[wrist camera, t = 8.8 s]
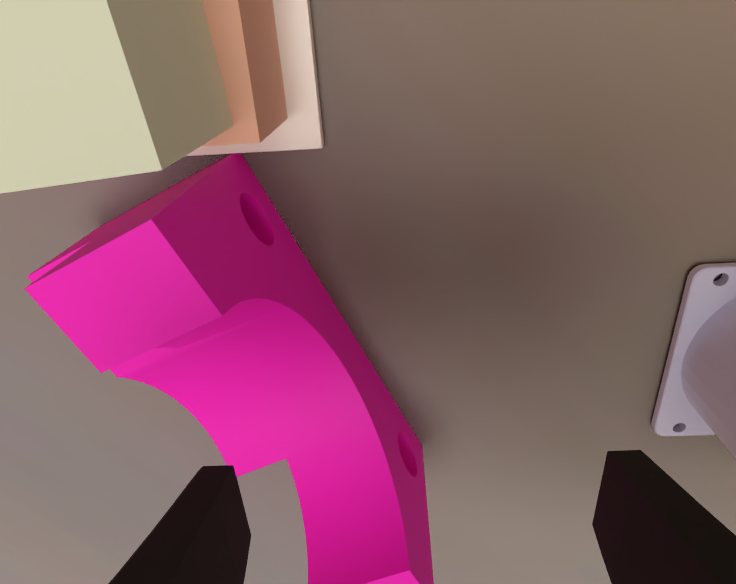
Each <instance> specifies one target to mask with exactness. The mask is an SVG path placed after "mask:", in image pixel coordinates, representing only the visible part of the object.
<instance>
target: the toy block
mask: <svg viewBox="0 0 736 584" xmlns="http://www.w3.org/2000/svg"><path fill="white" fill-rule="evenodd" d="M27 277H28V278H29V279H30V280H31V281H32V282H33V283H31V284H30V285H29V286H27V287H26V288H24V289H25V290H26V291H27V292H28V293H29V294H30V295H31V296H32V297H33V299H34V300H35V301H36V302H37V303H38V304H39V305H40V306H41V307H42V308H43V310H44V311H45V312H46V313H47V314H48V315H49V316H50V317H51V318H52V320H53V321H54V322H55V323H56V324H57V325H58V326H59V327H60V328H61V329H62V331H63V332H64V333H65V334H66V335H67V336H68V337H69V338H70V339H71V340H72V342H73V343H74V344H75V345H76V346H77V347H78V348H79V349H80V350H81V352H82V353H83V354H84V355H85V356H86V357H87V358H88V359H89V360H90V361H91V363H92V364H93V365H94V366H95V367H96V368H97V369H98V370H99V371H100V372H101V373H102V372H104V371H106V370H108V369H110V370H111V371H112V372H113V373H114V374H115V375H116V376H117V377H122V378H129V379H133V380H137V381H140V382H144V383H146V384H148V385H151V386H153V387H156V388H157V389H159V390H161V391H163V392H165V393H167V394H168V395H170V396H171V397H173V398H174V399H175V400H177V401H178V402H179V403H181V404H182V405H183V406H184V407H185V408H187V409H188V410H189V411H190V412H191V413H192V414H193V415H194V416H195V417H196V418H197V420H198V421H199V422H200V423H201V424H202V426H203V427H204V428H205V429H206V431H207V432H208V433H209V435H210V436H211V438H212V439H213V441H214V442H215V444H216V446H217V447H218V449H219V451H220V452H221V454H222V456H223V458H224V460H225V462H226V464H227V465H233V466H234V470H235V474H236V477H238V476H240V475H243V474H246V473H248V472H251V471H254V470H256V469H259V468H262V467H264V466H267V465H270V464H272V463H275V462H278V461H280V460H283V459H286V458H287V461H288V463H289V466H290V469H291V472H292V475H293V478H294V481H295V485H296V488H297V492H298V496H299V500H300V505H301V509H302V514H303V520H304V526H305V533H306V543H307V556H308V584H434V582H433V570H432V558H431V546H430V534H429V522H428V510H427V498H426V487H425V475H424V463H423V451H422V445H421V444H420V442H419V440H418V439H417V437H416V435H415V434H414V432H413V431H412V429H411V427H410V426H409V424H408V422H407V421H406V419H405V418H404V416H403V414H402V413H401V411H400V410H399V408H398V406H397V405H396V403H395V401H394V400H393V398H392V397H391V395H390V393H389V392H388V390H387V388H386V387H385V385H384V384H383V382H382V380H381V379H380V377H379V376H378V374H377V372H376V371H375V369H374V367H373V366H372V364H371V363H370V361H369V359H368V358H367V356H366V354H365V353H364V351H363V350H362V348H361V346H360V345H359V343H358V342H357V340H356V338H355V337H354V335H353V333H352V332H351V330H350V329H349V327H348V325H347V324H346V322H345V320H344V319H343V317H342V316H341V314H340V312H339V311H338V309H337V308H336V306H335V304H334V303H333V301H332V299H331V298H330V296H329V295H328V293H327V291H326V290H325V288H324V287H323V285H322V283H321V282H320V280H319V278H318V277H317V275H316V274H315V272H314V270H313V269H312V267H311V265H310V264H309V262H308V261H307V259H306V257H305V256H304V254H303V253H302V251H301V249H300V248H299V246H298V244H297V243H296V241H295V240H294V238H293V236H292V235H291V233H290V231H289V230H288V228H287V227H286V225H285V223H284V222H283V220H282V219H281V217H280V215H279V214H278V212H277V210H276V209H275V207H274V206H273V204H272V202H271V201H270V199H269V197H268V196H267V194H266V193H265V191H264V189H263V188H262V186H261V185H260V183H259V181H258V180H257V178H256V176H255V175H254V173H253V172H252V170H251V168H250V167H249V165H248V163H247V162H246V160H245V159H244V157H243V155H242V154H241V153H232V154H229V155H227V156H226V157H224V158H222V159H220V160H218V161H217V162H215V163H213V164H211V165H210V166H208V167H206V168H204V169H202V170H201V171H199V172H197V173H195V174H193V175H192V176H190V177H188V178H186V179H184V180H183V181H181V182H179V183H177V184H176V185H174V186H172V187H170V188H168V189H167V190H165V191H163V192H161V193H159V194H158V195H156V196H154V197H152V198H150V199H149V200H147V201H145V202H143V203H142V204H140V205H138V206H136V207H134V208H133V209H131V210H129V211H127V212H125V213H124V214H122V215H120V216H118V217H116V218H115V219H113V220H111V221H109V222H108V223H106V224H104V225H102V226H100V227H99V228H97V229H96V230H94V231H93V232H91V233H90V234H89V235H87V236H86V237H84V238H83V239H81V240H80V241H78V242H77V243H75V244H74V245H72V246H71V247H69V248H68V249H67V250H65V251H64V252H62V253H61V254H59V255H58V256H56V257H55V258H53V259H52V260H50V261H49V262H48V263H46V264H45V265H43V266H42V267H40V268H39V269H37V270H36V271H34V272H33V273H31V274H30V275H28V276H27Z"/></svg>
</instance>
